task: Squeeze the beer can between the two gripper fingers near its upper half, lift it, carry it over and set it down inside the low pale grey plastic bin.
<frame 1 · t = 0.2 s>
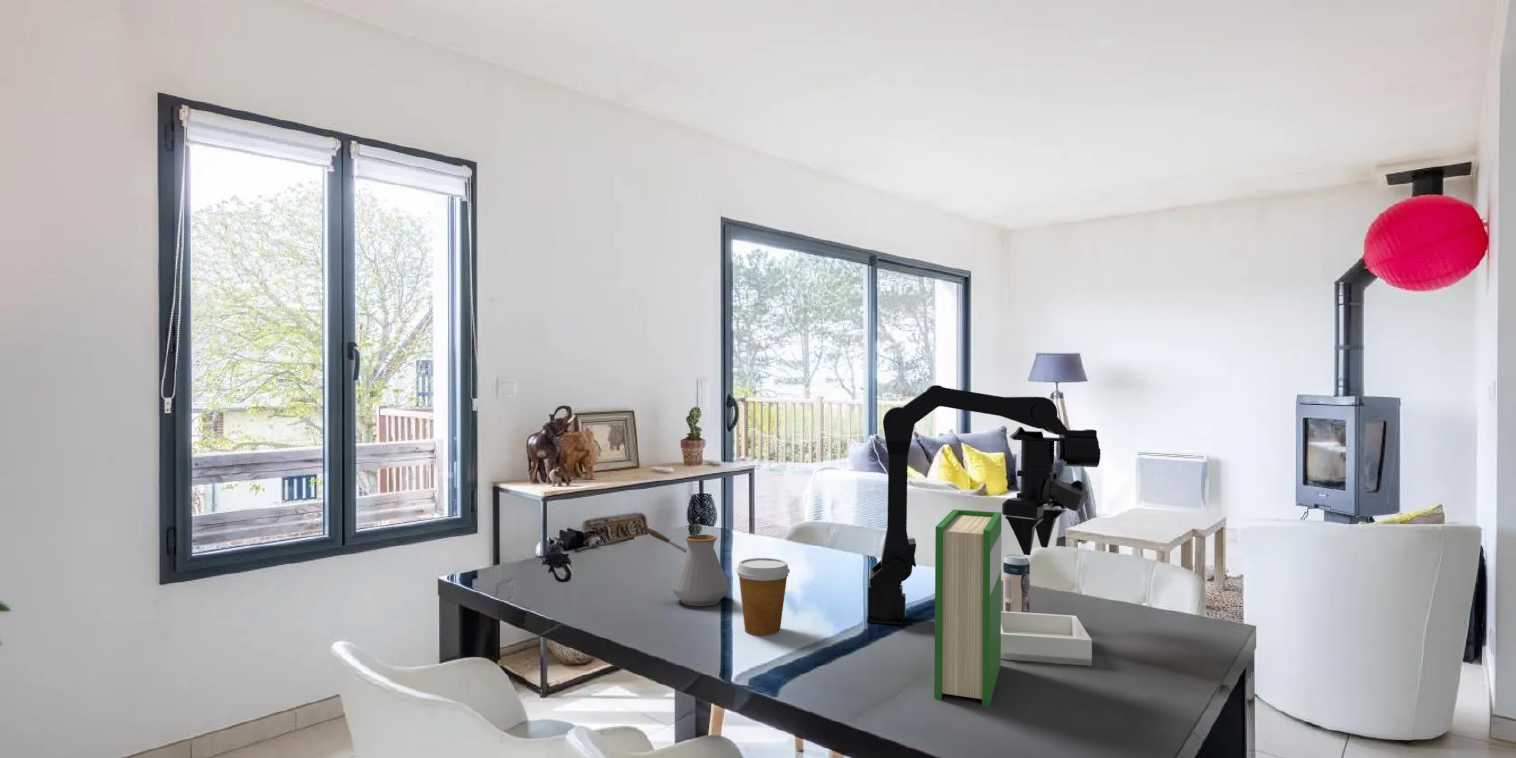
hand: (1035, 551, 147), 14 cm above the table, fingers open, 9 cm apart
disposable coffee cup: (762, 631, 144), on the table
hardback book: (969, 682, 120), on the table
coffee pot: (678, 599, 164), on the table
bin: (1038, 648, 135), on the table
beer can: (1016, 621, 151), on the table
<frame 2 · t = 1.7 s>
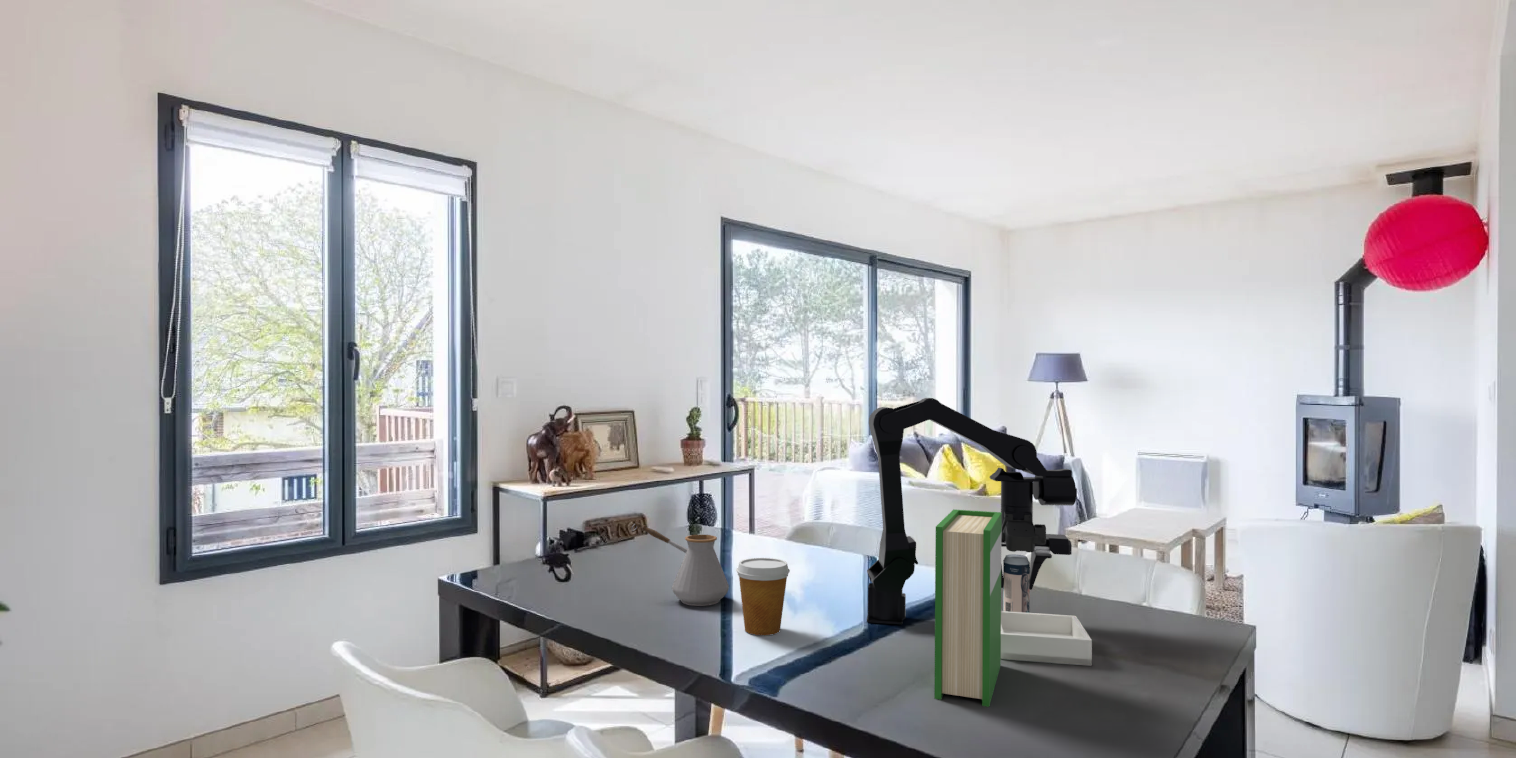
hand: (1016, 588, 151), 6 cm above the table, fingers closed on beer can, 5 cm apart
beer can: (1016, 621, 151), on the table, touching gripper
everything else where it was.
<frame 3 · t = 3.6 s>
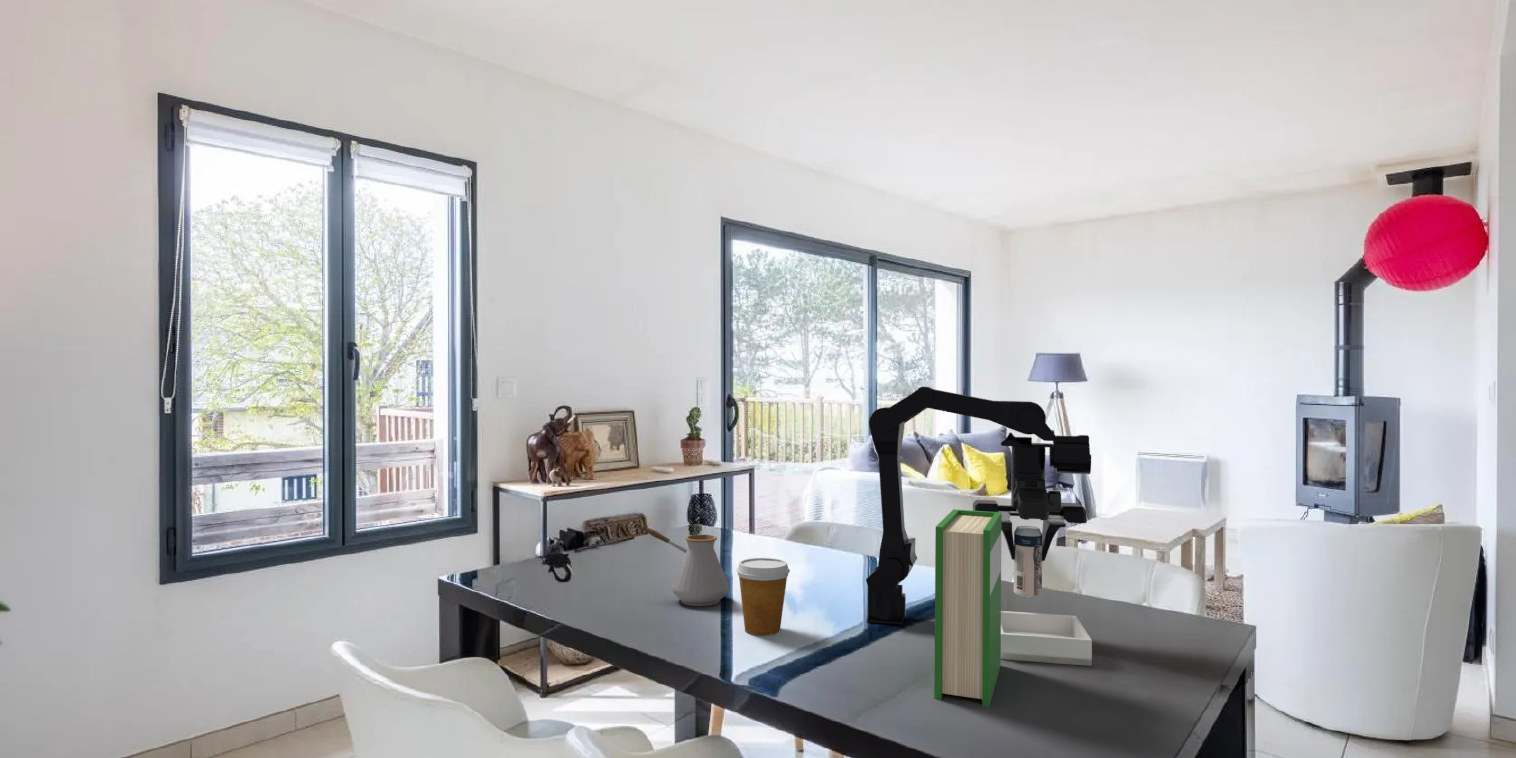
hand: (1027, 559, 143), 13 cm above the table, fingers closed on beer can, 5 cm apart
beer can: (1027, 596, 143), point 7 cm above the table, touching gripper
everything else where it was.
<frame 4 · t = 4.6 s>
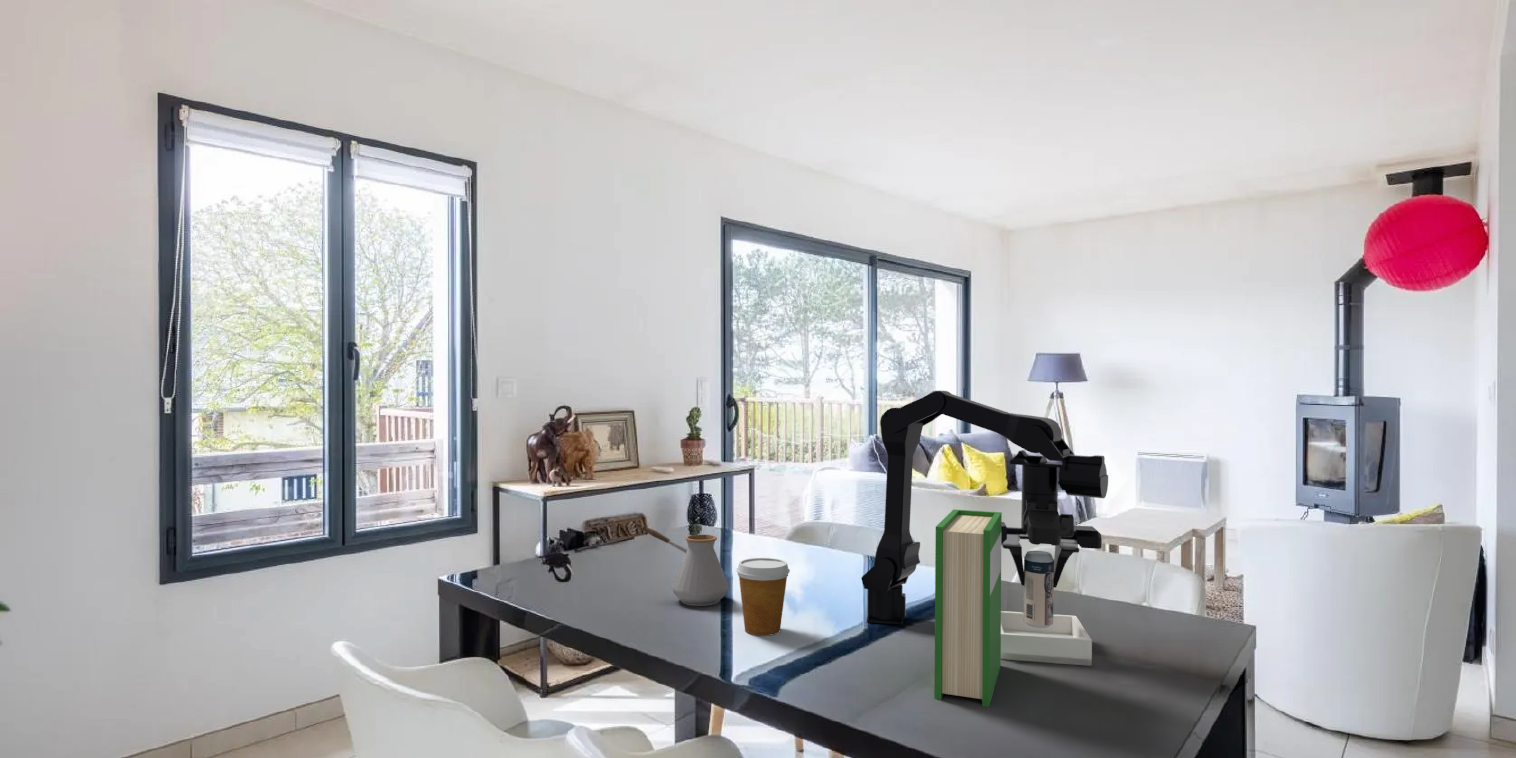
hand: (1038, 586, 135), 10 cm above the table, fingers closed on beer can, 5 cm apart
beer can: (1038, 625, 135), point 4 cm above the table, touching gripper
everything else where it was.
when the fingers open (8 cm above the table, at t = 5.3 s): beer can stays where it is, resting on bin.
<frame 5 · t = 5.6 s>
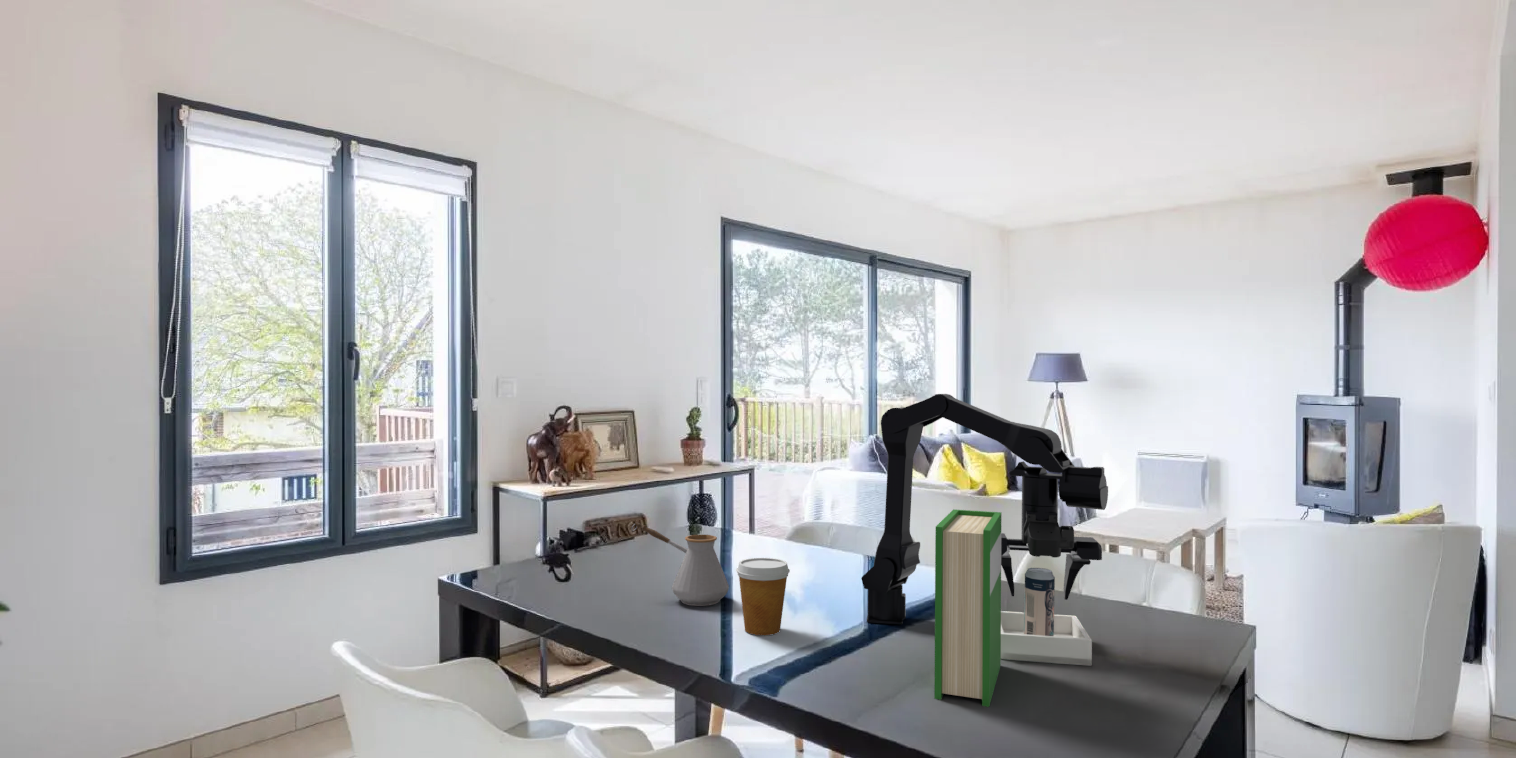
hand: (1038, 597, 135), 8 cm above the table, fingers open, 8 cm apart
beer can: (1038, 643, 135), point 1 cm above the table, touching bin
everything else where it was.
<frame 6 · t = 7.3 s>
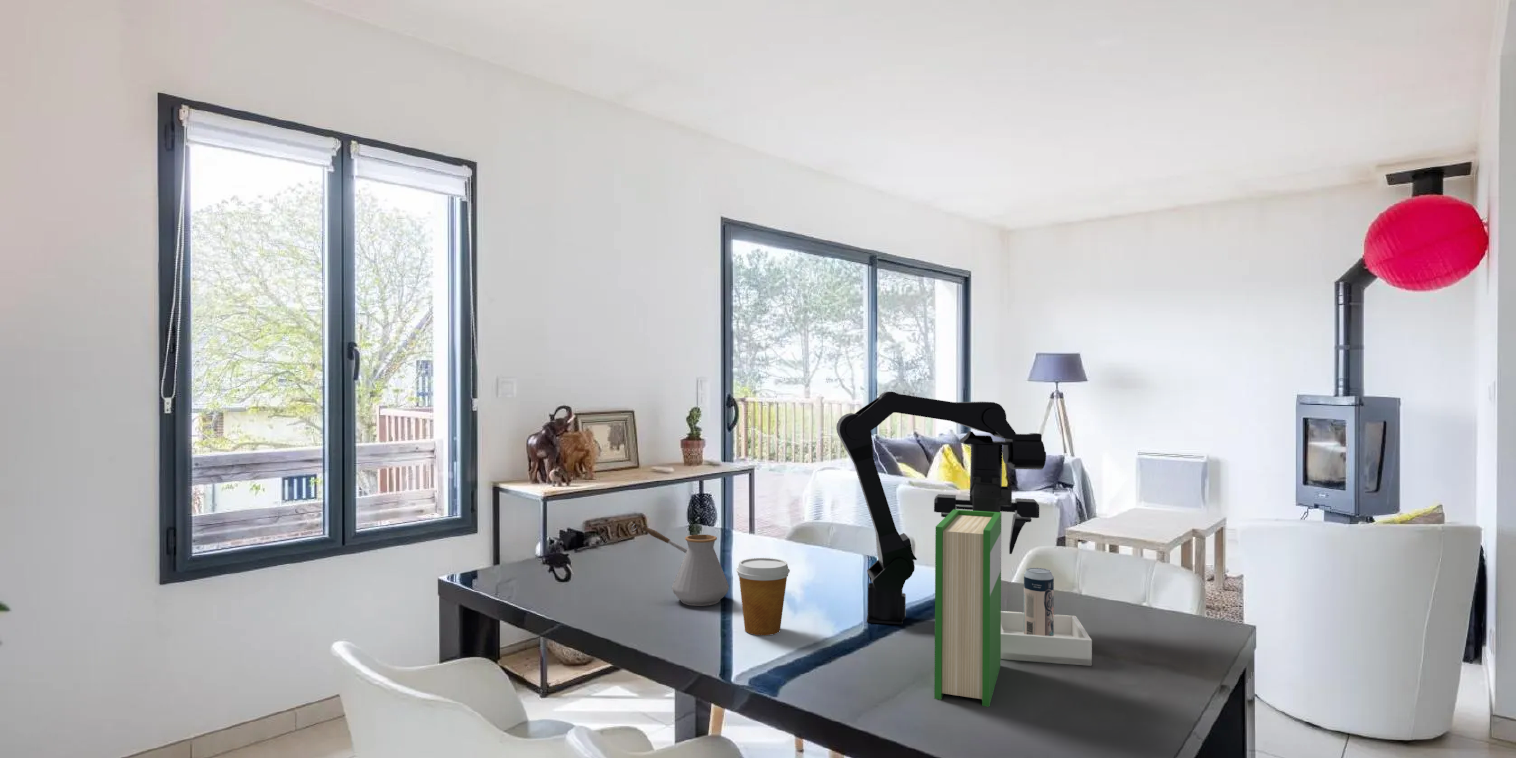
hand: (984, 551, 151), 13 cm above the table, fingers open, 9 cm apart
nothing on the table moved.
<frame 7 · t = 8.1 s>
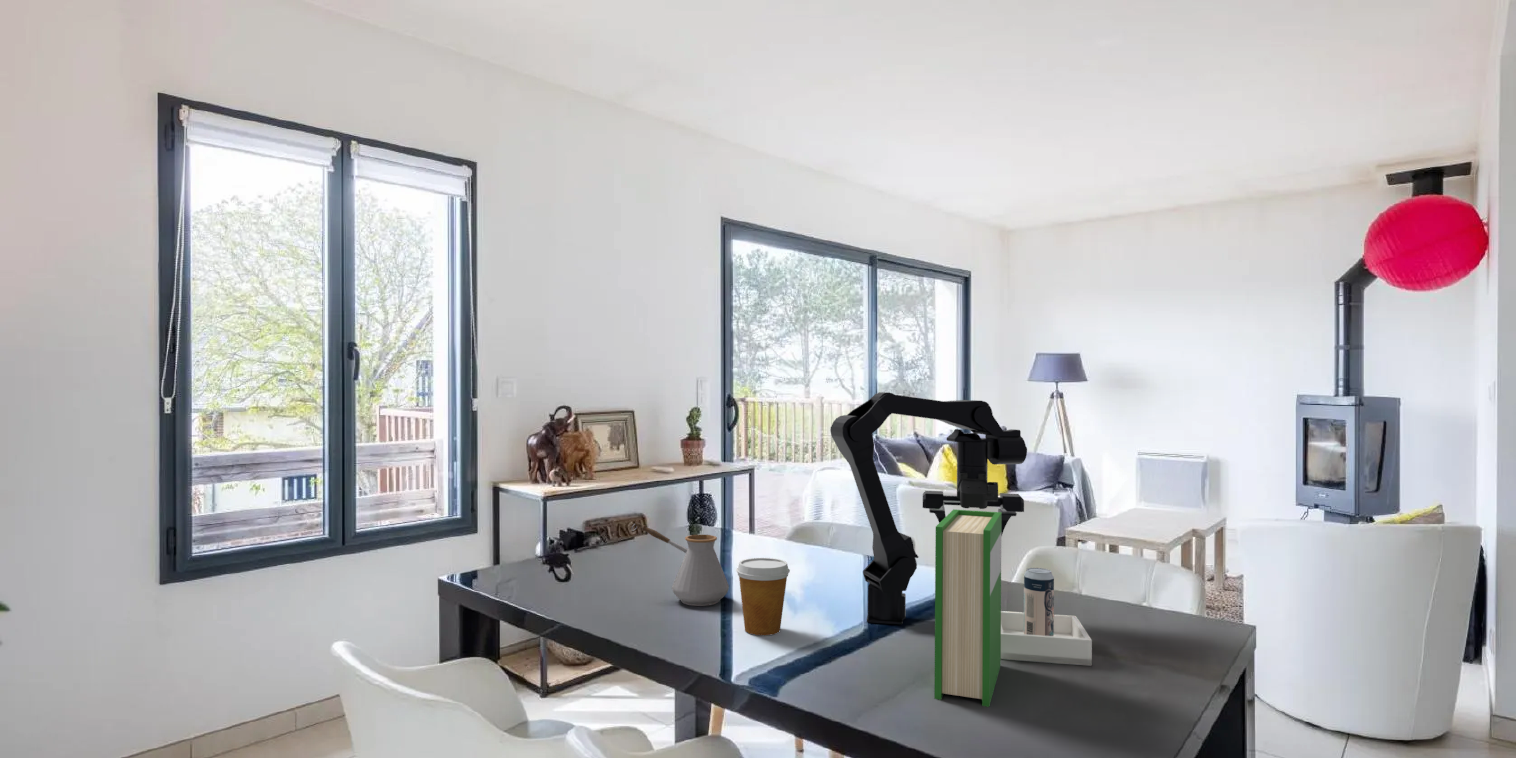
hand: (971, 545, 156), 13 cm above the table, fingers open, 9 cm apart
nothing on the table moved.
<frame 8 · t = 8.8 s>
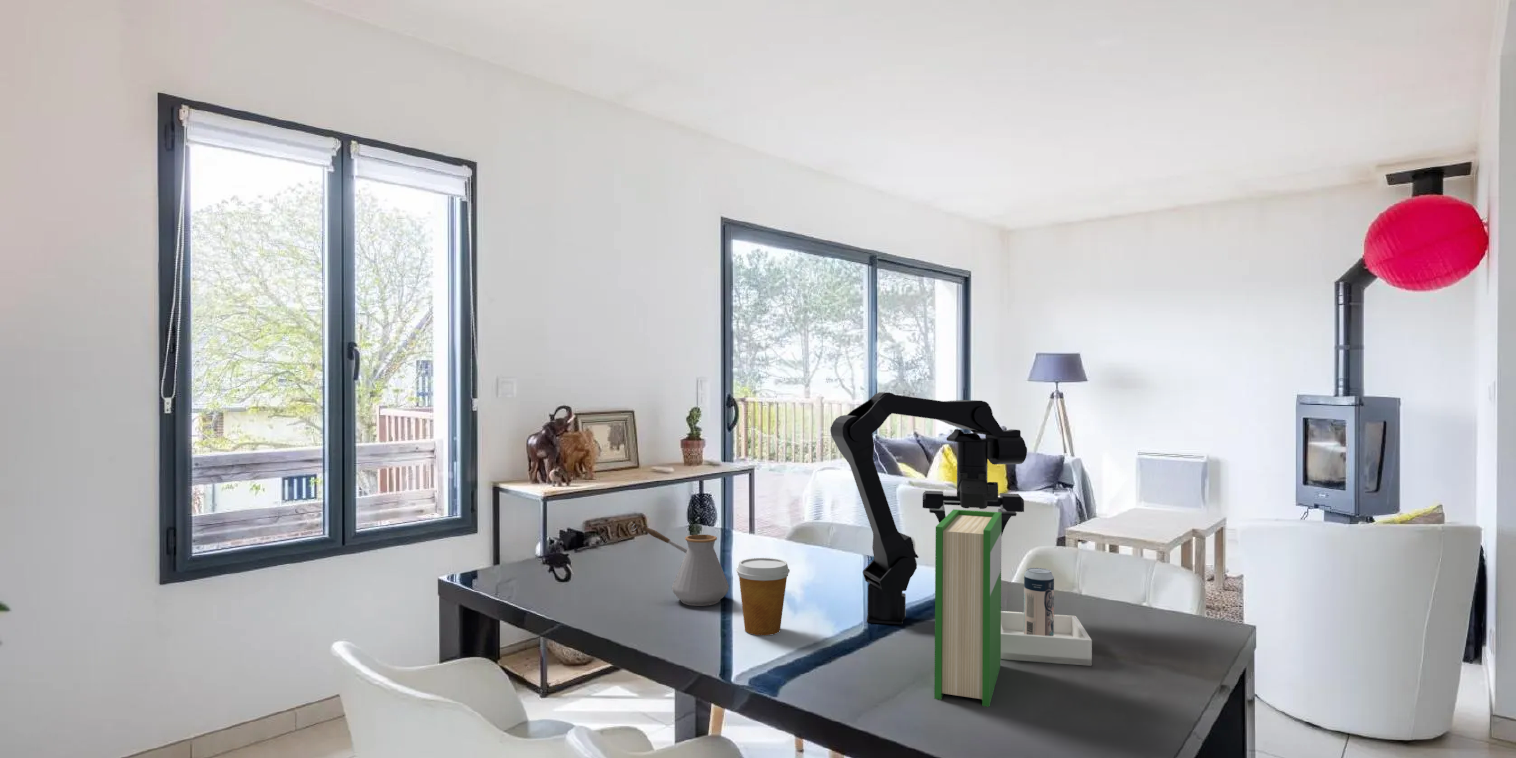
hand: (971, 545, 156), 13 cm above the table, fingers open, 9 cm apart
nothing on the table moved.
at the end: beer can inside the target area on the bin (0.1 cm from its centre), point 0.8 cm above the bin's base; beer can tilted 0°; the gripper is holding nothing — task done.
